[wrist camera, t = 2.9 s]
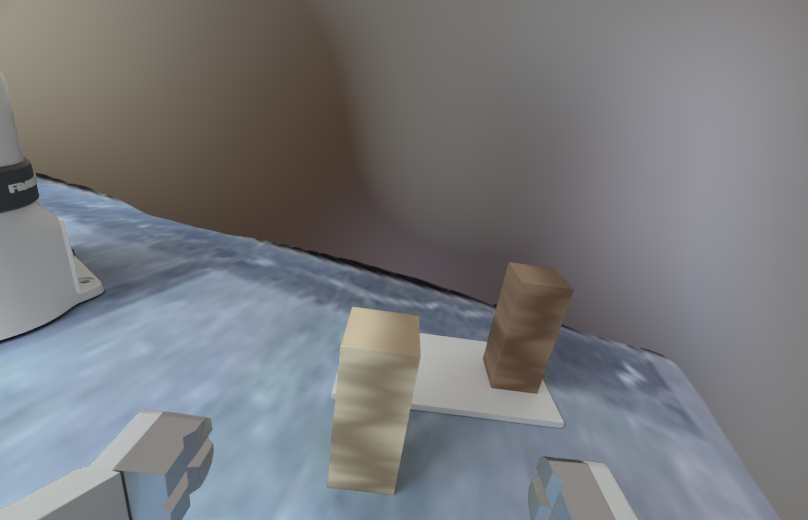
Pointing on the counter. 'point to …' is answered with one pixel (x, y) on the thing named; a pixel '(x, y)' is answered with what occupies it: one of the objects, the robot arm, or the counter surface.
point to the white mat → (472, 386)
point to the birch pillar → (373, 399)
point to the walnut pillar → (525, 327)
